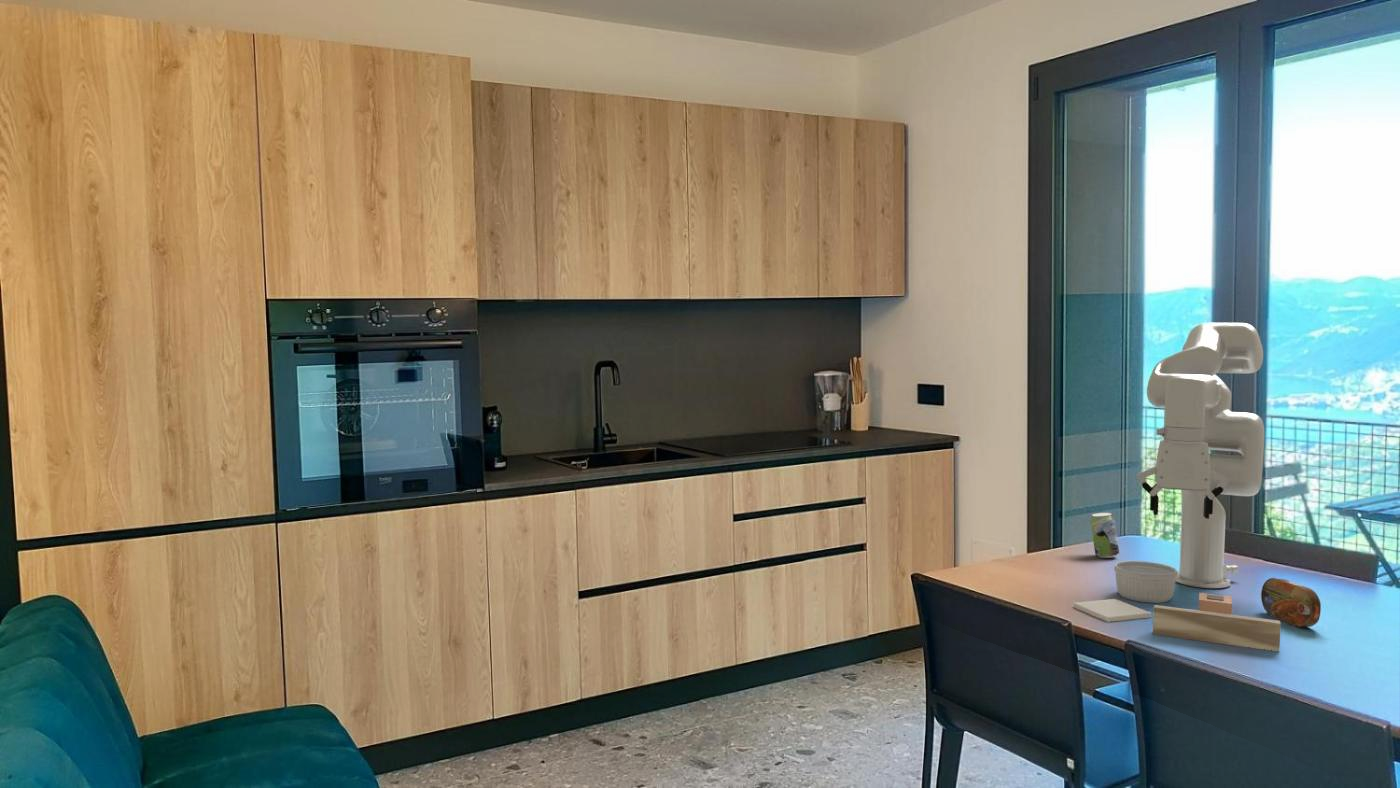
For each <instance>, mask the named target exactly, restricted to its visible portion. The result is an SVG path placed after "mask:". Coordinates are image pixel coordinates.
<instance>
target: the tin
mask: <svg viewBox="0 0 1400 788" xmlns="http://www.w3.org/2000/svg"><path fill="white" fill-rule="evenodd" d="M1260 598H1261V604H1262V606H1263V609H1264V610H1265V612H1266V613H1267V614H1268V615H1269V616H1270V615H1272V616H1273V618H1275V617H1276V618H1275V619H1277V618H1278V619H1277V620H1279V619H1280V620H1279V621H1282V620H1283V621H1282V622H1284V621H1285V623H1286V622H1288V624H1289V623H1290V624H1289V625H1291V624H1293V625H1295V626H1294V627H1296V626H1297V627H1296V628H1302V627H1303V628H1309V627H1313V626H1315V625H1317V623H1318V622H1319V620H1320V617H1321V609H1322V607H1321V606H1322V605H1321V600H1320V598H1319V596H1318V594H1317V592H1315V590H1313V589H1311V588H1309V587H1308V586H1305V585H1301V584H1298V583H1296V582H1293V581H1290V580H1288V579H1286V578H1276V577H1270V578H1268V579H1267V580H1265V581H1264V583H1263V585H1262V588H1261V593H1260ZM1272 616H1271V617H1272ZM1293 625H1292V626H1293Z"/></svg>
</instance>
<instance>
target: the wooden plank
mask: <svg viewBox="0 0 1400 788" xmlns="http://www.w3.org/2000/svg"><path fill="white" fill-rule="evenodd" d="M1152 619H1153V620H1152V635H1157V636H1164V637H1165V636H1166V637H1171V638H1180V639H1185V640H1192V641H1201V642H1206V643H1215V644H1222V645H1228V646H1229V645H1230V646H1237V647H1243V648H1249V647H1250V648H1249V649H1258V650H1264V649H1265V650H1264V651H1271V650H1272V651H1273V652H1278V651H1279V652H1280V649H1281V648H1280V647H1281V646H1280V645H1281V644H1280V643H1281V625H1282V623H1281V620H1279V619H1277V620H1276V619H1268V618H1261V617H1255V616H1253V617H1251V616H1246V615H1245V616H1244V615H1237V614H1232V615H1230V614H1222V613H1214V612H1206V611H1199V609H1188V608H1182V607H1181V608H1179V607H1174V606H1165V605H1157V604H1154V605H1153V618H1152Z"/></svg>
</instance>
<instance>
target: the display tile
mask: <svg viewBox="0 0 1400 788" xmlns="http://www.w3.org/2000/svg"><path fill="white" fill-rule="evenodd" d="M1073 608H1075V609H1077V610H1079V611H1081V612H1084V613H1086V614H1088V615H1091V616H1093V617H1094V618H1098V619H1100V620H1102V621H1104V622H1107V623H1112V622H1120V621H1121V622H1122V621H1129V620H1139V619H1147V618H1149V619H1150V618H1152V616H1151V615H1152V614H1151V613H1152V612H1150V611H1148V610H1145V609H1142V608H1140V607H1137V606H1134V605H1132V604H1129V603H1127V602H1125V601H1122V600H1119V599H1116V598H1108V599H1098V600H1087V601H1080V602H1079V601H1077V602H1073ZM1111 621H1112V622H1111Z"/></svg>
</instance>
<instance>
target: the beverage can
mask: <svg viewBox="0 0 1400 788" xmlns="http://www.w3.org/2000/svg"><path fill="white" fill-rule="evenodd" d="M1090 527H1091V534H1092V541H1093V549H1094V555H1095V556H1098V558H1100V559H1101V558H1102V559H1108V558H1109V559H1110V558H1116V556H1117V555H1118V554H1119V553H1120V550H1119V549H1120V547H1119V543H1118V542H1119V541H1118V534H1117V527H1116V521H1115V517H1114V516H1113V515H1112V513H1111V512H1097V513H1093V514H1091V518H1090Z"/></svg>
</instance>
